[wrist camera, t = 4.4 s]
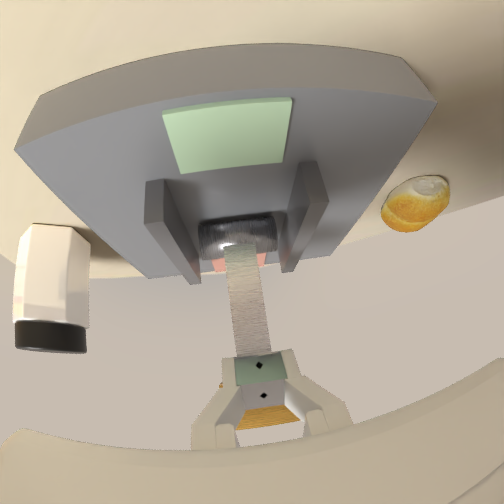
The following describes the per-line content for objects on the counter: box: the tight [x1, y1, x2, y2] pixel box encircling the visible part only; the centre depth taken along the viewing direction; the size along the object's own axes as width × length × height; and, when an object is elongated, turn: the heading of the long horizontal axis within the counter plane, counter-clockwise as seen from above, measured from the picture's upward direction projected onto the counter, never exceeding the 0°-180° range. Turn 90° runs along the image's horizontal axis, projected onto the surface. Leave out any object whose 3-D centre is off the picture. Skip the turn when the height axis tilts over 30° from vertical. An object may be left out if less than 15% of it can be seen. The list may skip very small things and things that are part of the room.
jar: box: [13, 224, 91, 354], centre depth 23 cm, size 9×8×12 cm
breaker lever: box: [198, 216, 300, 430], centre depth 17 cm, size 5×3×13 cm, turn 89°
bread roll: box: [381, 176, 450, 232], centre depth 27 cm, size 8×9×4 cm
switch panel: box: [14, 44, 438, 285], centre depth 20 cm, size 20×22×6 cm
